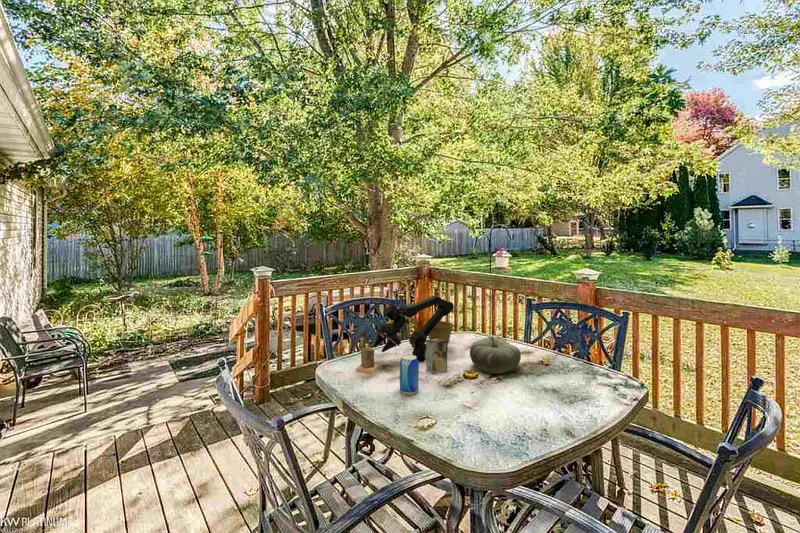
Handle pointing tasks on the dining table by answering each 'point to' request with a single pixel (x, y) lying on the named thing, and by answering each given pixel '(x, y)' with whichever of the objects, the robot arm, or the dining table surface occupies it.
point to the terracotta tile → (367, 369)
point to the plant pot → (441, 331)
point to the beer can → (409, 374)
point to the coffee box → (436, 355)
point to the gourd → (495, 355)
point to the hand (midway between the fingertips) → (378, 349)
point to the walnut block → (367, 357)
